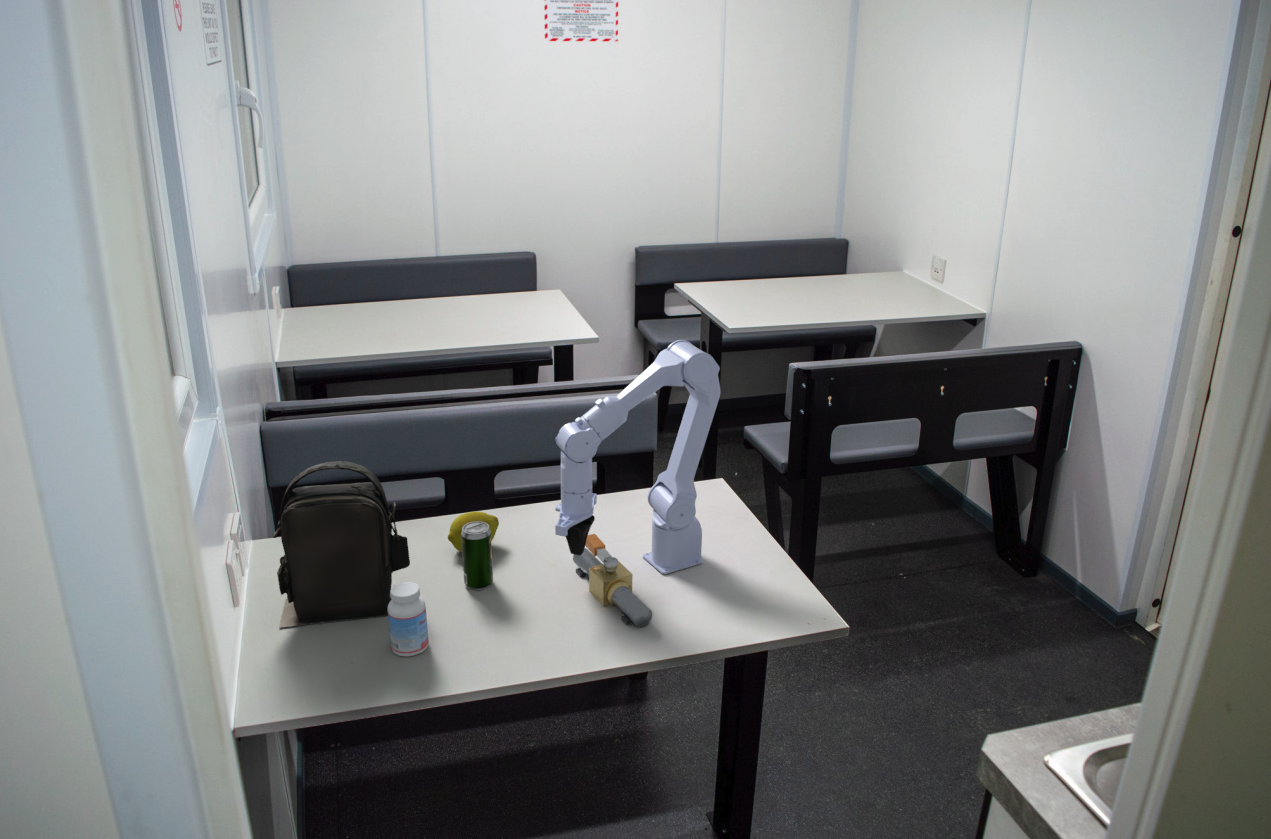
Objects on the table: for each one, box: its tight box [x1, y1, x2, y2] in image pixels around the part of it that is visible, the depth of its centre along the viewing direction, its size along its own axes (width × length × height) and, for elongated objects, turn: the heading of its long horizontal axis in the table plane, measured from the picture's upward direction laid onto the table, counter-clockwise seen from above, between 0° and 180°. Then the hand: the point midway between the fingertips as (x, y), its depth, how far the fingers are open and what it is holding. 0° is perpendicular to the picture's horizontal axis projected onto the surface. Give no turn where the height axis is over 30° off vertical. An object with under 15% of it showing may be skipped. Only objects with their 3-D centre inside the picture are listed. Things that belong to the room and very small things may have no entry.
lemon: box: [447, 511, 500, 553], centre depth 179 cm, size 11×8×8 cm
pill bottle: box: [387, 581, 430, 657], centre depth 147 cm, size 6×6×11 cm
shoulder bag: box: [272, 460, 411, 629], centre depth 155 cm, size 23×9×28 cm, turn 103°
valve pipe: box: [572, 547, 654, 628], centre depth 164 cm, size 6×24×5 cm, turn 30°
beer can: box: [461, 521, 494, 592], centre depth 166 cm, size 5×5×12 cm
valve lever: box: [585, 533, 619, 573], centre depth 167 cm, size 11×3×2 cm, turn 25°
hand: (577, 553), depth 168 cm, fingers closed
